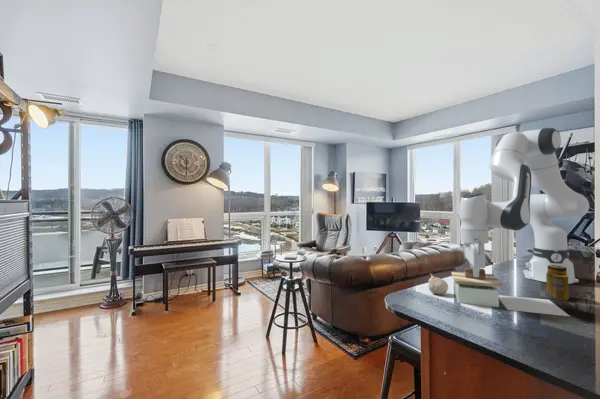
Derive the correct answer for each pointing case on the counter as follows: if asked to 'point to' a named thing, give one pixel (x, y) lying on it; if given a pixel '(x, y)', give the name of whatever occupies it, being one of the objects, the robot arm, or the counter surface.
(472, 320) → the counter surface
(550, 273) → the condiment
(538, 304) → the white square tile
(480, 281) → the oak cover
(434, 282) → the garlic bulb
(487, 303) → the mint green open box
